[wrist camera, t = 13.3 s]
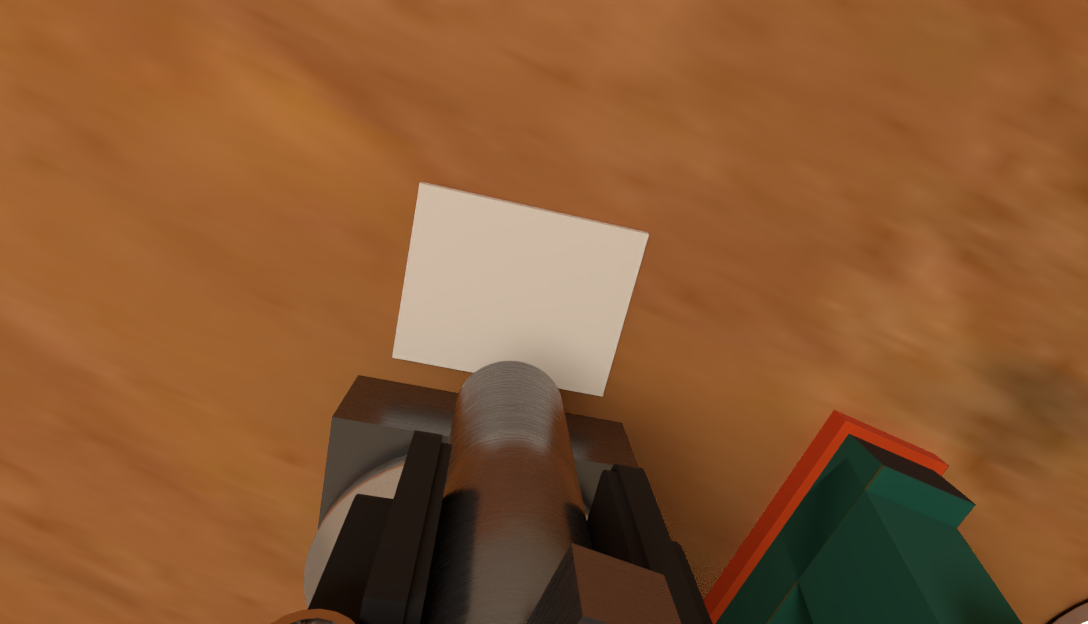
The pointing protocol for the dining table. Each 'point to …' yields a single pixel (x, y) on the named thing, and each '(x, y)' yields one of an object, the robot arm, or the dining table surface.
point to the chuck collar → (372, 483)
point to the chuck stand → (399, 409)
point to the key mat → (515, 288)
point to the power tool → (860, 542)
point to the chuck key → (525, 519)
